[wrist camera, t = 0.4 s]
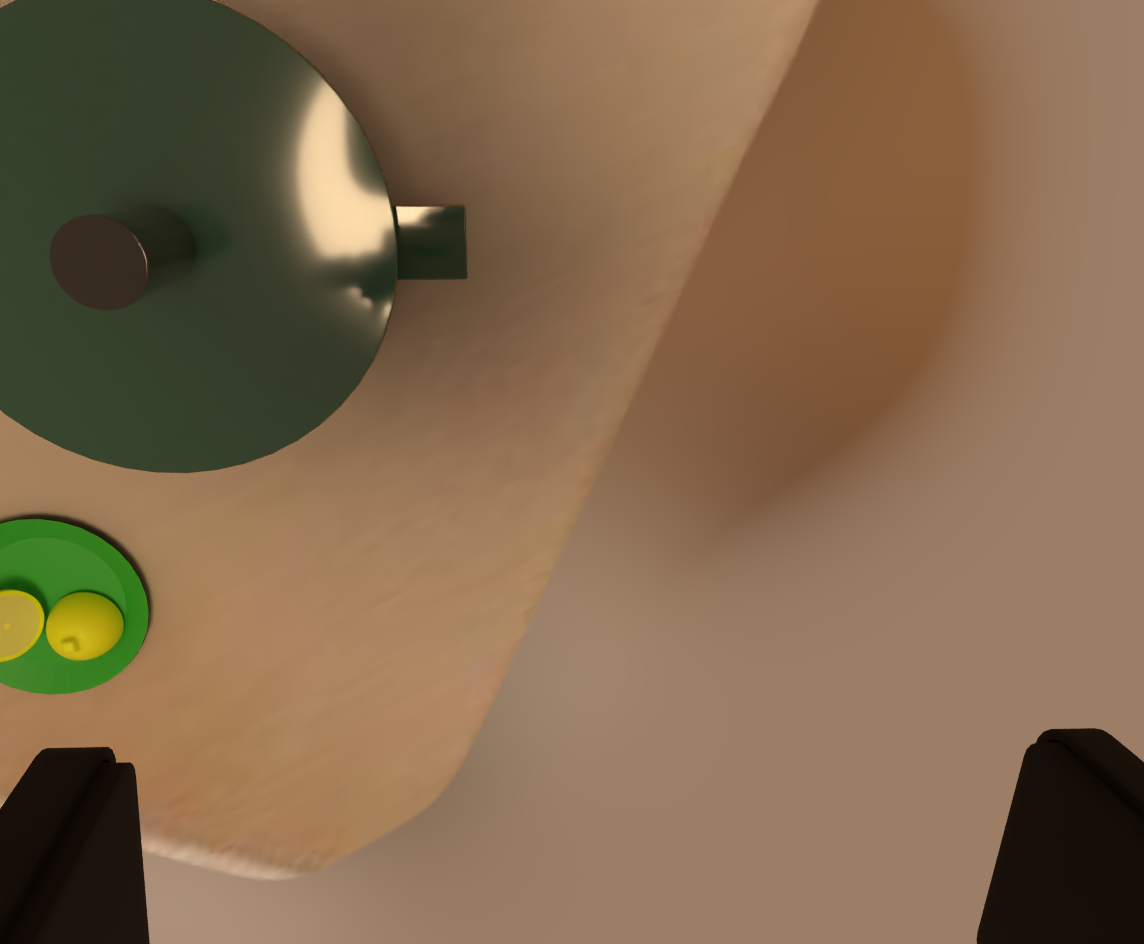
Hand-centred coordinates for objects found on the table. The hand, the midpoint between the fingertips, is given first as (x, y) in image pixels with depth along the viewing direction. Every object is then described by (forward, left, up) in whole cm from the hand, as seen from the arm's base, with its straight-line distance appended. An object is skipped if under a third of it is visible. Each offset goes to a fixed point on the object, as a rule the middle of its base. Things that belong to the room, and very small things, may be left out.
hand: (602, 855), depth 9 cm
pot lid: (-4, -10, -23) cm, 26 cm away
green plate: (+11, -18, -30) cm, 36 cm away
